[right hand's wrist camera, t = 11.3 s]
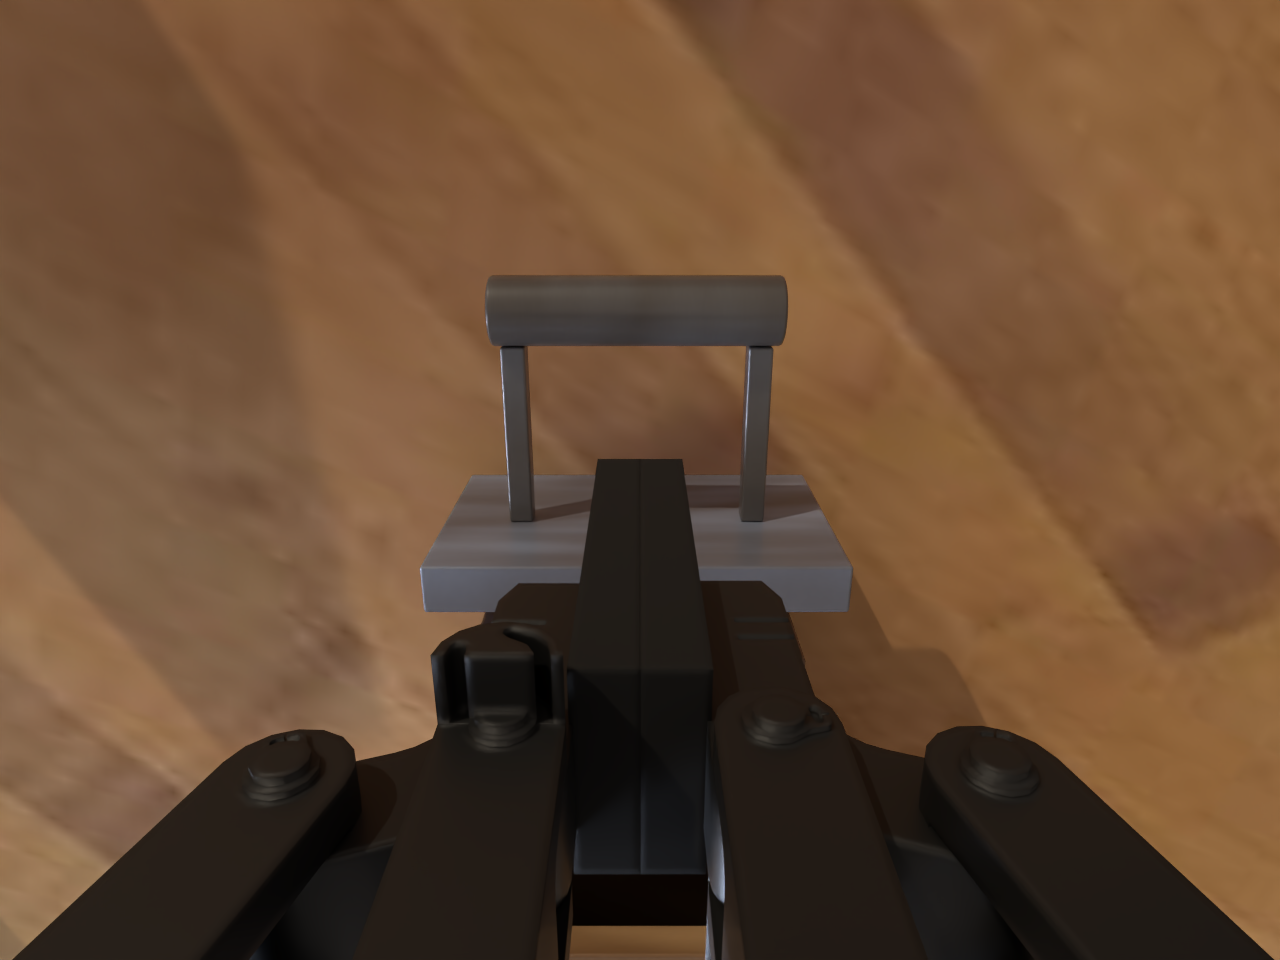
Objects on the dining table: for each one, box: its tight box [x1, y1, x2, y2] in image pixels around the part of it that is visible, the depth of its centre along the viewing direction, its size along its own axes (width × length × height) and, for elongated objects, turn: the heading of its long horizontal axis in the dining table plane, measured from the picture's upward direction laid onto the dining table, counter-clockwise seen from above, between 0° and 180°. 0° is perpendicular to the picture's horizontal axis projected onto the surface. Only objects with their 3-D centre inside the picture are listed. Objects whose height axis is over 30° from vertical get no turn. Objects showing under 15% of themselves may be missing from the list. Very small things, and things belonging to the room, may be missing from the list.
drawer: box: [420, 275, 853, 926], centre depth 24 cm, size 26×10×6 cm, turn 0°
